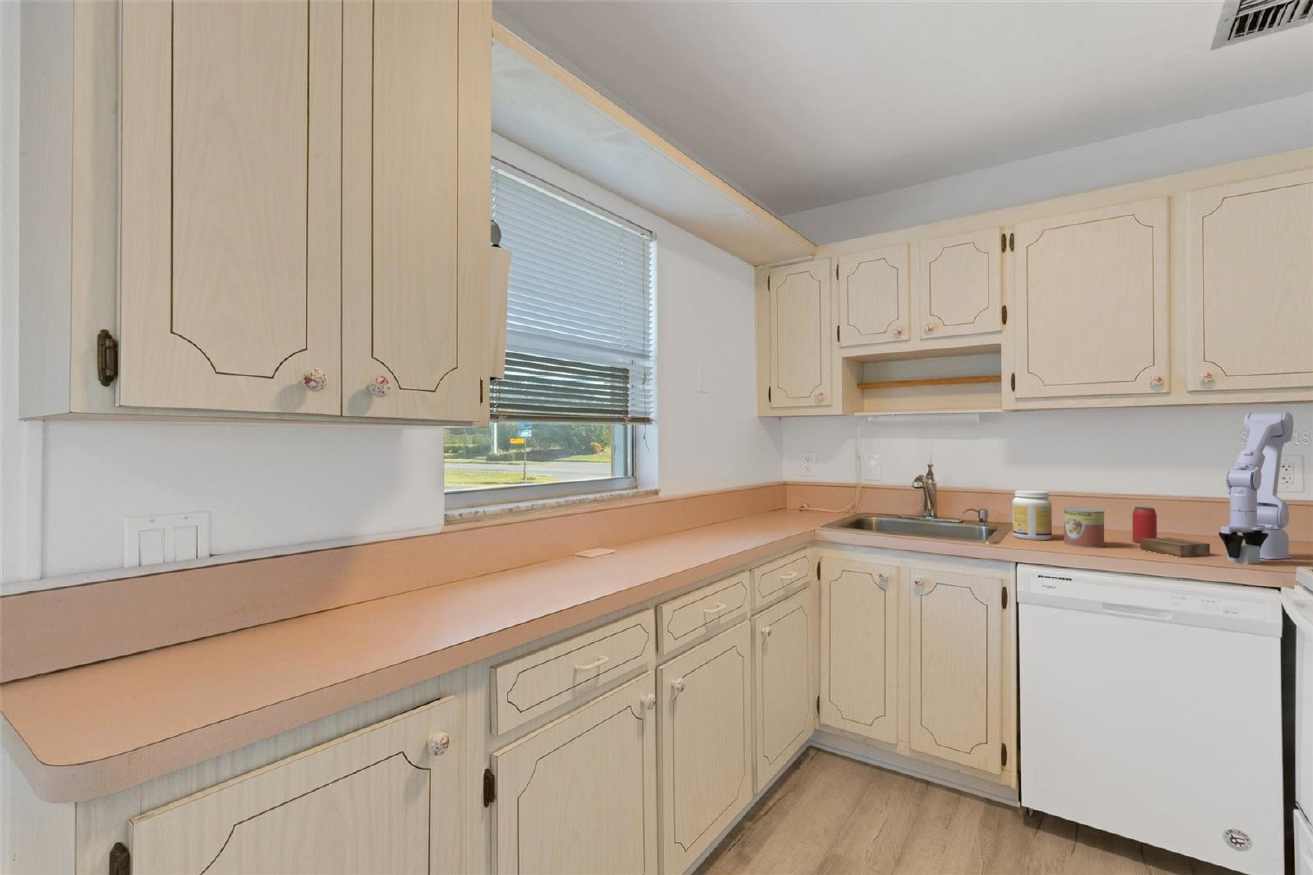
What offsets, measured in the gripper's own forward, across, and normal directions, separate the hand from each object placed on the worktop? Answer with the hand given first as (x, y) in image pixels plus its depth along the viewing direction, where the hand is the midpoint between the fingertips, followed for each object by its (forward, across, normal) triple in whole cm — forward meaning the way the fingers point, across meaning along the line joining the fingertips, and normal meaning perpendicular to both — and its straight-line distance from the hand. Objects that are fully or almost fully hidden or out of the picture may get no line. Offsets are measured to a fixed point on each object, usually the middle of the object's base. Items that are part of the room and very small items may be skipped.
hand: (1243, 557), depth 178 cm
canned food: (+2, -19, +34) cm, 39 cm away
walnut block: (+2, -4, +16) cm, 17 cm away
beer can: (+2, +5, +32) cm, 32 cm away
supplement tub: (+2, -24, +50) cm, 55 cm away
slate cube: (+2, 0, 0) cm, 2 cm away
